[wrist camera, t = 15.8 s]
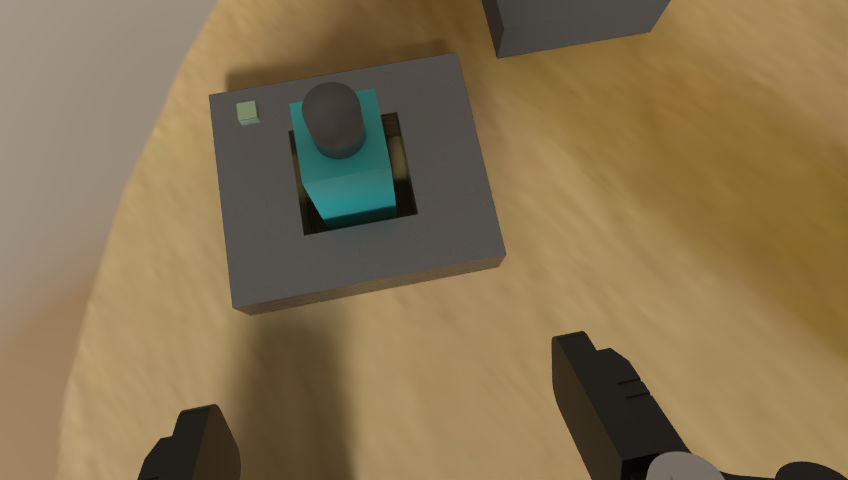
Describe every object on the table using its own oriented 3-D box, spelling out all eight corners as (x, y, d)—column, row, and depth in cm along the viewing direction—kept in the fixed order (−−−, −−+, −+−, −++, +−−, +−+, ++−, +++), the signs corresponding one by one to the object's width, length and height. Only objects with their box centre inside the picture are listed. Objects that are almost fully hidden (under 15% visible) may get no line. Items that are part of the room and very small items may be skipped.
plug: (384, 154, 33) (370, 57, 23) (397, 216, 32) (387, 142, 22) (317, 166, 33) (275, 74, 23) (328, 230, 32) (289, 161, 22)
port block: (453, 80, 34) (457, 49, 31) (498, 266, 31) (507, 253, 28) (227, 120, 34) (206, 92, 30) (250, 315, 31) (230, 306, 27)
